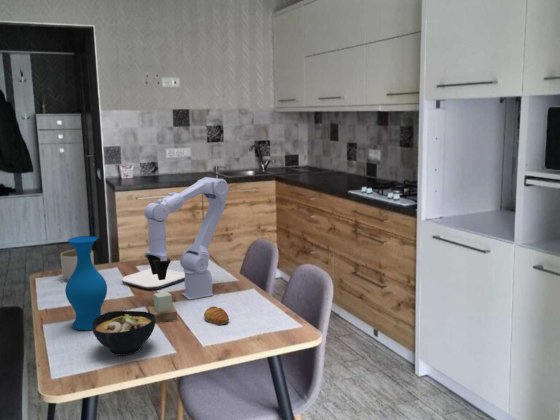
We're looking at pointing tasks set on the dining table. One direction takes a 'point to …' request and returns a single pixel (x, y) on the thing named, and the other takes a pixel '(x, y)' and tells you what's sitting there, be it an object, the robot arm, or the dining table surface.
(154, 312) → the base block
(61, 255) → the planter
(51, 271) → the dining table surface
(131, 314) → the bowl
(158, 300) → the green block
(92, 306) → the vase
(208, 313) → the pastry
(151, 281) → the plate
